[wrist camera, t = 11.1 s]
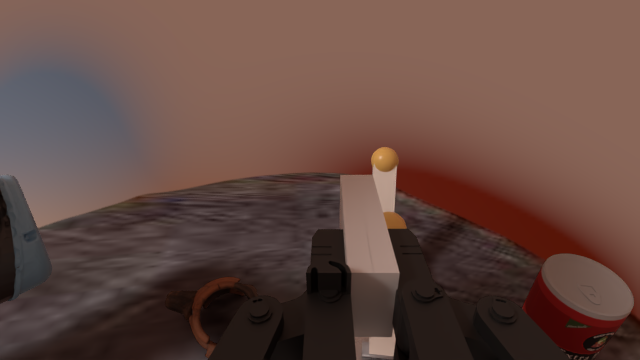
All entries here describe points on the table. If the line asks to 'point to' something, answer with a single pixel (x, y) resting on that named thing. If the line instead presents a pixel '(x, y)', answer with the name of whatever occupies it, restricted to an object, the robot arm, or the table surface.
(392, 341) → the toggle
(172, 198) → the table surface
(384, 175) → the toggle
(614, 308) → the canned food
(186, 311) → the pottery mug
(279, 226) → the table surface
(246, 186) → the table surface
